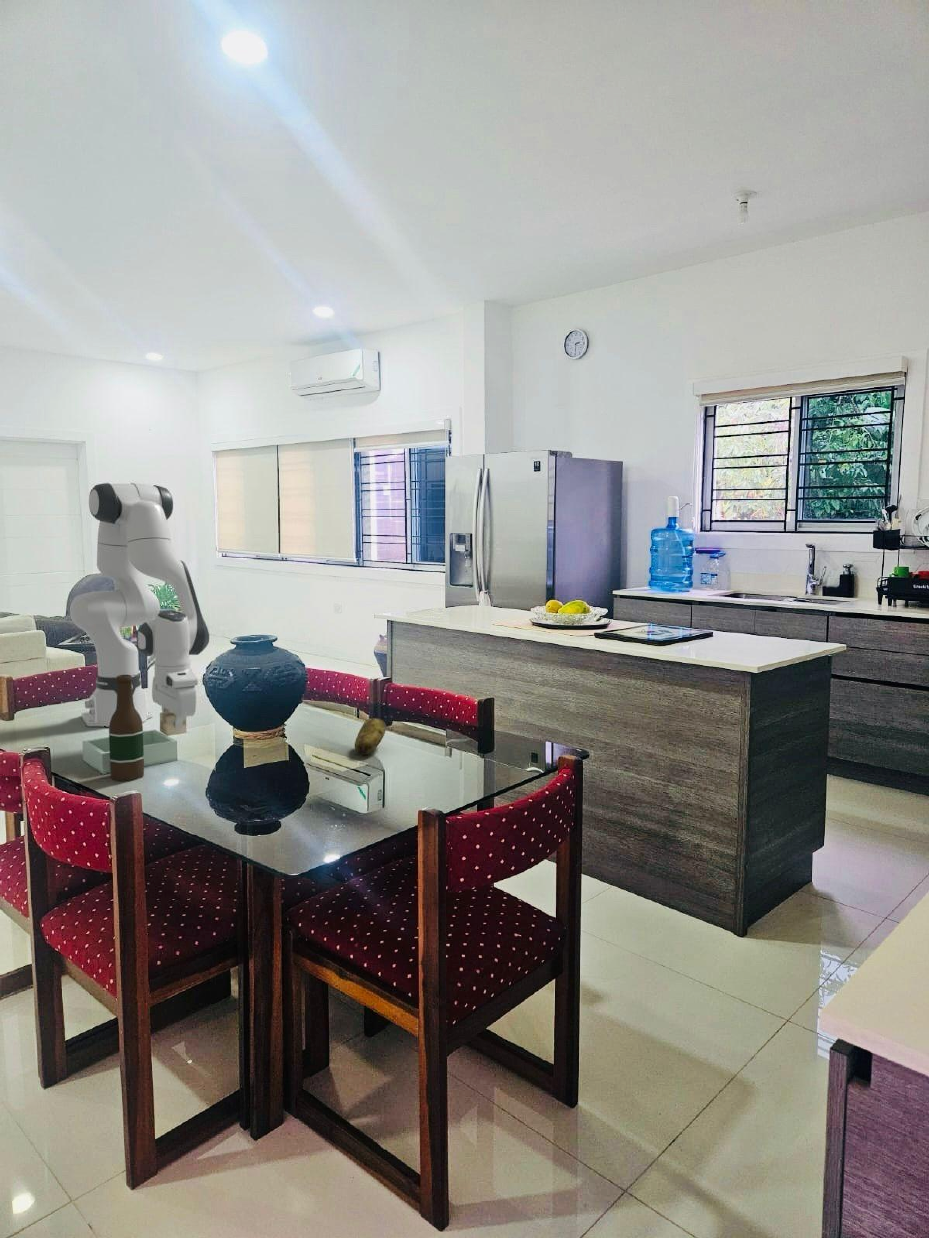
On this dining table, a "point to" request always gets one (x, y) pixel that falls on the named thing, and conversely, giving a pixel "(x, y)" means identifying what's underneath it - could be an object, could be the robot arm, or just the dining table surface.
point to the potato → (370, 736)
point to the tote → (154, 745)
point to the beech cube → (170, 724)
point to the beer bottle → (126, 735)
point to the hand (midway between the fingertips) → (173, 725)
